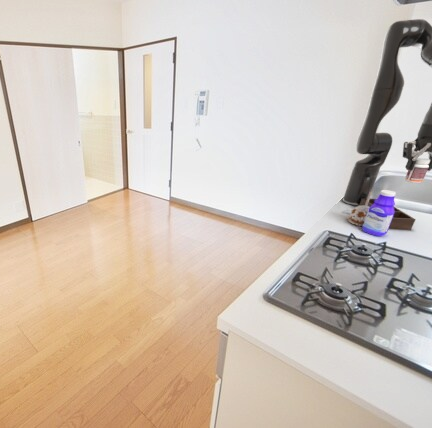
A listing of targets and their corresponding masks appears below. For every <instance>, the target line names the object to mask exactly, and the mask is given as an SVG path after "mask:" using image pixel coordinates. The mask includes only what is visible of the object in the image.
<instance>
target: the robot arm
mask: <svg viewBox="0 0 432 428" xmlns="http://www.w3.org/2000/svg"><path fill="white" fill-rule="evenodd" d="M409 47H413V48H417V49H420V50H419V58H420V60H421V61H422V62H423V63H424V64H426V65H427V66H429V67H430V68H432V24H431V23H429V22H428V20H425V19H424V18H423V19H422V18H415V19H404V20H397V21H394V22H393V23H392V24H391V25H390V26H389V27H388V29H387V30H386V33H385V35H384V38H383V42H382V49H381V55H380V61H379V66H378V70H377V74H376V77H375V81H374V84H373V88H372V91H371V95H370V100H369V103H368V108H367V111H366V114H365V117H364V120H363V123H362V126H361V129H360V131H359V134H358V136H357V139H356V142H355V150H356V153H357V154H359V155H366V156H365V157H363V158H360V159H358V160H356V161H355V162H354V164H353V168H352V170H351V173H350V176H349V180H348V183H347V186H346V189H345V192H344V195H343V197H342V202H343V203H345V204H347V205H351V206H354V207H358V206H359V205H360V202H361V199H362V198H366V199H367V198H368V195H369V192H370V190H374V187H375V183H376V181H377V178H378V175H379V172H380V170H381V167H382V166H383V165H384V164H385V162H386V160H387V157H388V155H389V153H390V151H391V148H392V145H393V137H392V135H391V134H390V133H389V132H377V131H378V128H379V126H380V124H381V122H382V120H383V119H385V117H386V116H387V115H388V114H389V113H390V112H391V111H392V110H393V108H395V107H396V105H397V104H398V102H400V99H401V96H402V93H403V90H404V86H405V80H404V75H403V73H402V70H401V68H400V65H399V62H398V61H399V59H398V57H399V52H400V48H401V49H402V48H409ZM424 153H427V154H428V159H429V160H430V163H429V164H428V165H429V168H428V170H427V172H430V171H431V170H432V102H431V103H430V106H429V108H428V109H427V112H426V113H425V115H424V118H423V120H422V122H421V124H420V127H419V130H418V132H417V137H416V138H415V140H412V141H405V142H403V147H402V158H404V159H406V160H407V162H406V164H405V166H404V167H405V169H406V170H407V171H408V170H409V171H412V170H413V168H414V165H415V163H416V161H415V160H416V159H417V158H420V156H422V155H423V154H424Z"/></svg>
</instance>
